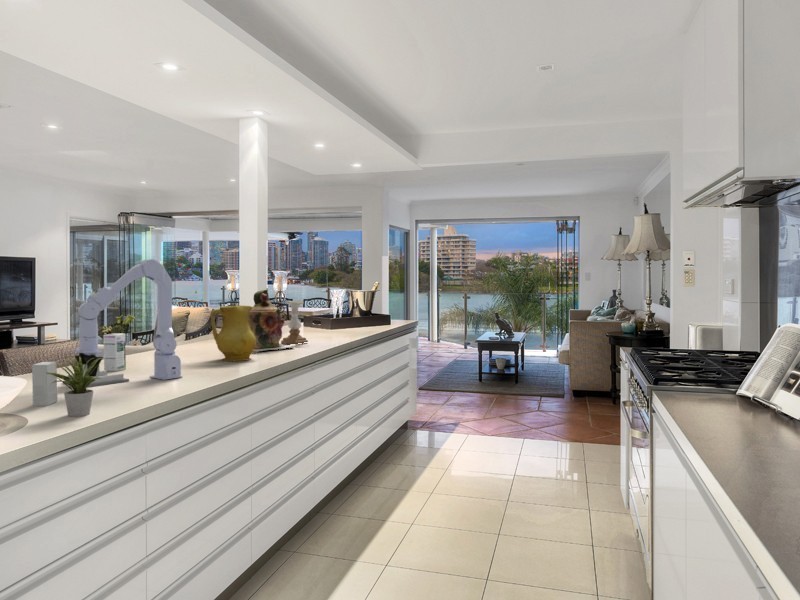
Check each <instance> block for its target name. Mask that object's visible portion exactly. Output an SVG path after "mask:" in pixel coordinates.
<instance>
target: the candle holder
mask: <svg viewBox="0 0 800 600" xmlns="http://www.w3.org/2000/svg"><path fill="white" fill-rule="evenodd" d="M285 304H286V305H289V306H290V308H291V311H290V312H289V314H290V316H291V318H290V321H289V322H288V325H287V326H288V328H289V331H288V332H289V335H287V337H282V340H280V344H281V343H282V345H287V344H298V343H304V342H308V341H309V339H307V338H306V337H303V336H302V335H301V334H300V333H301V330H300V329H301V327H302V323H301V322H300V319H299V314H300V312H299V307H300V306H301V305H303V304H305V302H304V301H298V300H297V301H295V300H293V301H292V300H291V301H285ZM308 343H309V342H308Z"/></svg>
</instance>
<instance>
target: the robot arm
mask: <svg viewBox="0 0 800 600" xmlns="http://www.w3.org/2000/svg"><path fill="white" fill-rule="evenodd" d="M142 278H143V279H144V278H147V279H150V280H151V281H152V282H153V284H155V285H157V289H156V290H157V291H156V293H157V302H156V303H157V309H156V311H157V313H156V314H157V320H156V321H157V324H156V325H157V326H156V327H157V328H156V331H155V337H154V338H153V343H152V345H153V348H154V349H155V351H154V353H153V354H154V355H153V357H154V359H153V360H154V363H153V365H154V367H153V368H154V370H153V371H154V373H153V375H149V378H151V379H152V378H153V379H158V380H164V381H165V380H171V379H179V378H183V375H182V372H181V371H182V370H181V369H182V366H181V365H182V364H181V363H182V361H181V358H180V357H179V356H178V355H176V351H175V350H176V349H177V341H176V339H175V333H174V330H173V280H172V278H171V276H170V275H169V273H168V271H167V270H166V268H165V267H164V265H163V264H162V263H161V262H159V260H157V259H151V258H150V259H143V260H142V261H139V263H137V264H136V265H134V266H132V267H131V268H129V269H128V270H127V271H126V272H125V273H124V274H123V275H122V276H121V277H120V278H118V279H117V280H116V281H115V282H114V283H112V284H111V285H110V286H103V287H102V288H101V287H99V288H98V289H97V292H96V293H94V294H93V296H91V297H90V298H89V297H87V298H86V301H87V302H83V303H82V304H80V305H79V307H78V309H77V314H78V315H79V324H78V326H79V327H78V331H79V338H78V341H79V342H78V343H79V345H78V346H79V347H76V348H74V354H75V356H74V358H75V359H76V360H77V362H78V363H79V356H80V357H81V362H82V364H83V365H84V364H86V363H87V361H88V360H90V359H91V360H90V361H89V362H88V363H87V368H89V366H90V364H91V363H92V362H93V361H94V360H96V359H98V358H101V359H99V360H98V361H97V362H96V363H95V365H94V367H93V368H92V370H91V371H90V372H89V374H88V375H90V376H96V373H97V370H98V366H99V367H100V364H101V362H102V360H104V358H102V357H104V350H101V349H99V324H98V317H99V315H100V312H101V311H104V310H105V309H106V308H107V307H108V306H109V305H111V304H112V303H113V302H114V301H115V300H117V296H118V295H117V294H118V293H119V292H120V291H122V290H124V289H125V288H126V287H127V286H128V285H130V284H131V283H132V282H134V280H136V279H142ZM77 354H78V355H77ZM92 358H94V359H92ZM98 364H99V365H98ZM97 365H98V366H97ZM96 366H97V367H96ZM95 367H96V368H95ZM92 371H93V372H92ZM91 372H92V373H91ZM90 373H91V374H90Z"/></svg>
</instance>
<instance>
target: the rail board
mask: <svg viewBox="0 0 800 600" xmlns="http://www.w3.org/2000/svg"><path fill="white" fill-rule="evenodd" d="M70 375H71V376H72V377H73V375H72V374H70ZM67 377H69V378H70V379H71V377H70V376H69V375H68V374H67ZM94 378H100V379H94V380H97V381H94V382H92V383H90V384H89V385H88V386H87V388H92V387H98V386H99V387H100V386H107V385H115V384H121V383H127V382H130V378H129V379H128V378H124V373H116V374H115V373H114V374H108V371H105V370H99V377H94ZM92 379H93V378H92ZM64 381H65V380H64ZM65 382H66V381H65ZM65 382H64V383H65ZM64 383H63V384H64ZM65 384H67V383H65ZM65 384H64V385H65ZM67 385H68V384H67Z"/></svg>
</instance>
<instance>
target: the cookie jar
mask: <svg viewBox="0 0 800 600" xmlns="http://www.w3.org/2000/svg"><path fill="white" fill-rule="evenodd" d="M269 296H270V295H269V287H266V289H262V290H259V291H256V292H255V293H254V294H253V302H254V304H253V306H252V307H253V308H252V309H251V311H250V312H249V315H248V324H249V327H250V329H251V331H252V332H253V334H254V336H255V338H256V346H255V347H254V349H253V351H254V352H253V353H259V352H263V351H264V352H266V351H269V350H272V351H278V349H279V350H287V349H286V348H289V349H290V348H292V349H294V348H295V346H296V345H287V344H281V343H280V342H281V339H283V330H282V329H283V327H284V324H285V319H283V315H281V310H280V308H277V307H276V306H275V305H274V304H272V302H271V301H270V297H269ZM293 347H294V348H293Z"/></svg>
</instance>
